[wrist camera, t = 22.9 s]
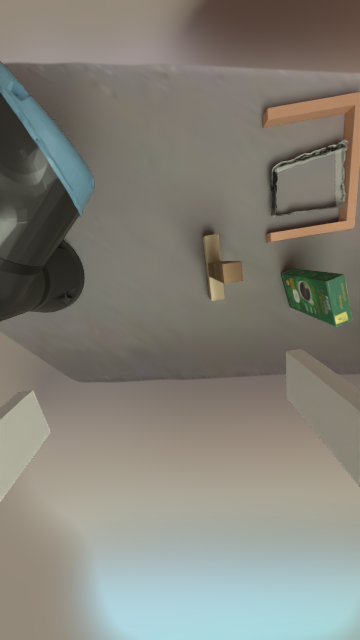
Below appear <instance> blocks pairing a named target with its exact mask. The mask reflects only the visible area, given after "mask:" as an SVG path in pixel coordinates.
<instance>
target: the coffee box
mask: <svg viewBox="0 0 360 640" xmlns="http://www.w3.org/2000/svg"><path fill="white" fill-rule="evenodd" d="M281 276H282V279H283V283H284V286H285V290H286V293H287V297H288V301H289V305H290V307H291V308H293V309H296V310H298V311H301V312H303V313H305V314H308V315H310V316H312V317H314V318H317V319H319V320H321V321H324V322H326V323H328V324H331V325H333V326H335V327H338V326H340V325H342V324H344V323H346V322H349V321H351V320H352V316H351V310H350V305H349V299H348V293H347V287H346V282H345V276H344V274H337V273H328V272H319V271H310V270H300V269H291V270H288V271H286V272H284V273H282V274H281Z"/></svg>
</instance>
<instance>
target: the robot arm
mask: <svg viewBox="0 0 360 640" xmlns="http://www.w3.org/2000/svg"><path fill="white" fill-rule="evenodd" d="M94 186H95V184H94V178H93V175H92V173H91V171H90V169H89V167H88V166H87V164H86V163H85V161H84V160H83V158H82V157H81V155H80V154H79V153H78V151H77V150H76V149H75V147H74V146H73V145H72V144H71V142H70V141H69V140H68V138H67V137H66V136H65V135H64V133H63V132H62V131H61V130H60V129H59V127H58V126H57V125H56V124H55V122H54V121H53V120H52V119H51V118H50V116H49V115H48V114H47V113H46V112H45V110H44V109H43V108H42V107H41V106H40V105H39V104H38V102H37V101H36V100H35V99H34V98H33V97H31V96H30V95H29V94H28V92H27V91H26V89H25V88H24V87H23V86H22V85H21V84H20V83H19V82H18V80H17V79H16V78H15V77H14V75H13V74H12V73H11V72H10V71H9V70H8V69H7V68H6V67H5V66H4V65H3V63H2V62H1V61H0V321H3V320H6V319H8V318H11V317H14V316H17V315H20V314H23V313H25V312H28V311H32V312H44V313H47V312H55V311H59V310H61V309H64V308H66V307H68V306H70V305H71V304H73V303H74V302H75V301H76V300H77V299H78V297H79V296H80V294H81V292H82V290H83V286H84V270H83V266H82V263H81V261H80V259H79V257H78V255H77V254H76V252H75V251H74V250H73V249H72V248H71V247H70V246H69V245H68V244H67V243H66V242H65V241H63V238H64V237H65V236H66V234H67V233H68V231H69V230H70V228H71V227H72V225H73V224H74V222H75V221H76V219H77V218H78V217H79V216H81V215H82V213H83V211H82V210H83V208H84V207H85V205H86V203H87V202H88V200H89V198H90V197H91V195H92V193H93V191H94ZM286 397H287V398H288V400H289V401H290V402H291V403H292V405H293V406H294V407H295V408H296V410H298V412H299V413H300V414H301V416H302V417H303V418H304V419H305V420H306V422H307V423H308V424H309V425H310V427H311V428H312V429H313V430H314V432H315V433H316V434H317V435H318V436H319V438H320V439H321V440H322V441H323V443H324V444H325V445H326V446H327V447H328V448H329V450H330V451H331V452H332V453H333V455H334V456H335V457H336V458H337V460H338V461H339V462H340V463H341V465H342V466H343V467H344V468H345V469H346V471H347V472H348V473H349V474H350V475H351V477H352V478H353V479H354V480H355V482H356V483H357V484H358V485H359V487H360V390H359V389H358V388H356V387H354V386H353V385H352V384H351V383H349V382H348V381H346V380H345V379H343V378H342V377H341V376H339V375H338V374H336V373H335V372H333V371H332V370H331V369H329V368H328V367H326V366H325V365H323V364H322V363H321V362H319V361H318V360H316V359H315V358H313V357H312V356H311V355H309V354H308V353H306V352H305V351H303V350H302V349H299V350H292V351H286ZM50 432H51V431H50V429H49V427H48V424H47V422H46V420H45V417H44V415H43V412H42V410H41V408H40V405H39V403H38V401H37V399H36V396H35V394H34V391H33V390H30V391H24V392H18V393H17V394H16V395H15V396H13V397H12V398H11V399H10V400H9V401H7V402H6V403H5V404H4V405H3V406H2V407H0V502H1V500H2V499H3V498H4V496H5V495H6V493H7V492H8V491H9V489H10V488H11V486H12V485H13V484H14V482H15V481H16V480H17V478H18V477H19V475H20V474H21V472H22V471H23V470H24V469H25V467H26V466H27V464H28V463H29V461H30V460H31V459H32V457H33V456H34V454H35V453H36V452H37V450H38V449H39V448H40V446H41V445H42V443H43V442H44V441H45V439H46V438H47V437H48V435H49V434H50Z"/></svg>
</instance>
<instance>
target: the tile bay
mask: <svg viewBox="0 0 360 640" xmlns="http://www.w3.org/2000/svg"><path fill="white" fill-rule="evenodd" d="M344 113H345V125H344V140H346V141H348V142H349V143H348V144H347V145H346V146H347V150H346V151H345V152H346V156H345V161H344V162H343V165H342V166H343V167H344V170H345V171H344V175H345V178H344V182H343V184H344V187H345V189H344V190H345V193H346V195H345V198H344V200H345V201H344V202H343V206H341V207H339V218H338V222H335V223H329V224H323V225H317V226H311V227H305V228H298V229H292V230H286V231H280V232H274V233H269V234H266V243H267V242H273V241H279V240H285V239H291V238H297V237H303V236H309V235H316V234H322V233H328V232H334V231H340V230H346V229H352V228H354V224H355V213H356V201H357V190H358V178H359V166H360V92H357V93H351V94H346V95H340V96H334V97H329V98H323V99H317V100H312V101H306V102H300V103H295V104H289V105H283V106H278V107H272V108H268V109H267V110H266V112H265V113H264V115H263V117H262V121H263V128H264V127H270V126H276V125H281V124H287V123H293V122H299V121H304V120H310V119H316V118H322V117H327V116H333V115H339V114H344ZM345 204H346V205H345Z"/></svg>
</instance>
